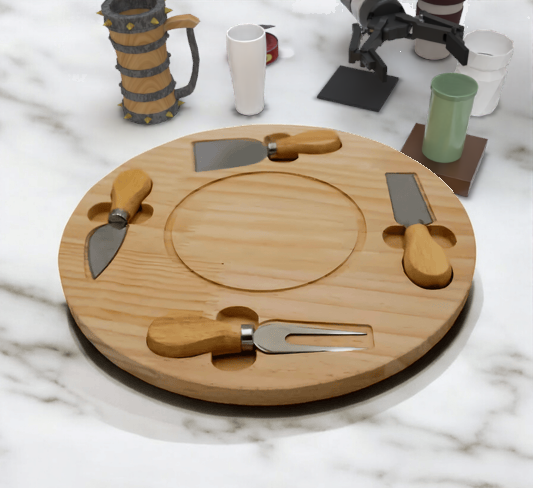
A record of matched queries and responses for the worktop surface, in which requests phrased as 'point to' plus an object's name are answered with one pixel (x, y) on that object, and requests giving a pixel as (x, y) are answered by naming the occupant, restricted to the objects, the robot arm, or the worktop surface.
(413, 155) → the display stand
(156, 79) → the mug
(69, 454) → the worktop surface
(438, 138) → the tumbler
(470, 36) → the vase
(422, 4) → the coffee cup
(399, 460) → the worktop surface
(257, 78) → the drinking glass
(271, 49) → the canned food
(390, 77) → the mat
